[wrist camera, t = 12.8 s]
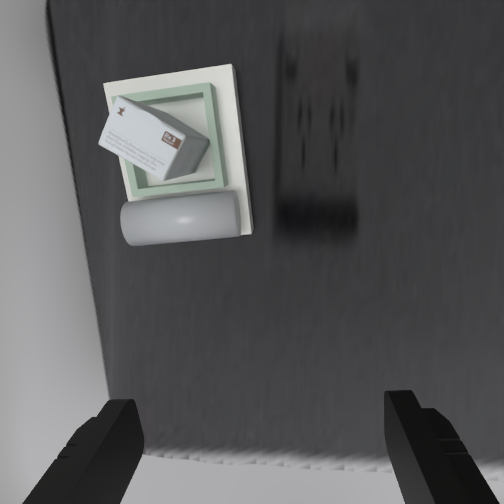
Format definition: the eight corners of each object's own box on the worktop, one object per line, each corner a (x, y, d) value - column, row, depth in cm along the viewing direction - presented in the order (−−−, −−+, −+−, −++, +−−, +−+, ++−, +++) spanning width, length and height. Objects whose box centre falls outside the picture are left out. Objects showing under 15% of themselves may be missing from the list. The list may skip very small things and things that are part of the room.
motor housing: (235, 70, 38) (223, 50, 31) (253, 228, 43) (247, 245, 36) (116, 87, 40) (76, 73, 32) (147, 238, 45) (118, 256, 37)
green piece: (215, 87, 36) (209, 81, 33) (228, 184, 39) (224, 187, 36) (124, 100, 37) (111, 96, 34) (143, 193, 40) (132, 197, 37)
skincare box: (149, 146, 38) (91, 146, 27) (166, 109, 37) (113, 91, 26) (197, 175, 39) (160, 186, 27) (215, 139, 38) (185, 134, 26)
